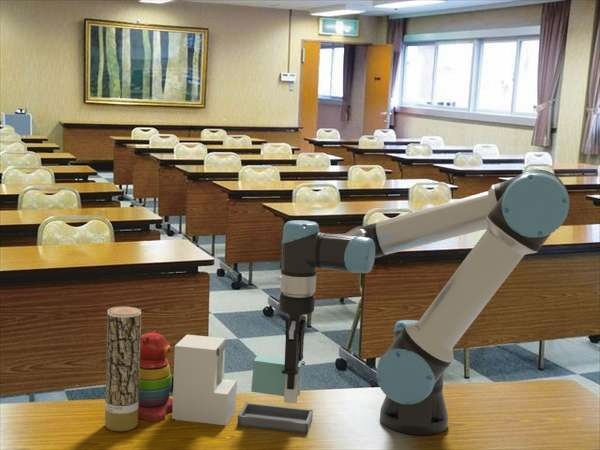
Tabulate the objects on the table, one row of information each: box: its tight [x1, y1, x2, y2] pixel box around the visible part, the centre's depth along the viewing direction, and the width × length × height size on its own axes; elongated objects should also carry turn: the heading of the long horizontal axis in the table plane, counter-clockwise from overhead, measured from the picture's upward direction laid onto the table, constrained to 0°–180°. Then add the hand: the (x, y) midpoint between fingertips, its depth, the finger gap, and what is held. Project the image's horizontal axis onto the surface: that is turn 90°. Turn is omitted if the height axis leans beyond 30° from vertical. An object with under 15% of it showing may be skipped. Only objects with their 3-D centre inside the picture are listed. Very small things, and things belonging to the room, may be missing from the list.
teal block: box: [250, 354, 303, 398], centre depth 168 cm, size 10×4×7 cm, turn 82°
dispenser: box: [171, 334, 238, 426], centre depth 170 cm, size 12×9×16 cm
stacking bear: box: [138, 329, 173, 422], centre depth 171 cm, size 11×10×18 cm
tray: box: [237, 402, 314, 435], centre depth 169 cm, size 15×8×2 cm, turn 82°
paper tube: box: [104, 306, 142, 432], centre depth 161 cm, size 7×7×25 cm
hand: (292, 398), depth 168 cm, fingers closed on teal block, 4 cm apart
